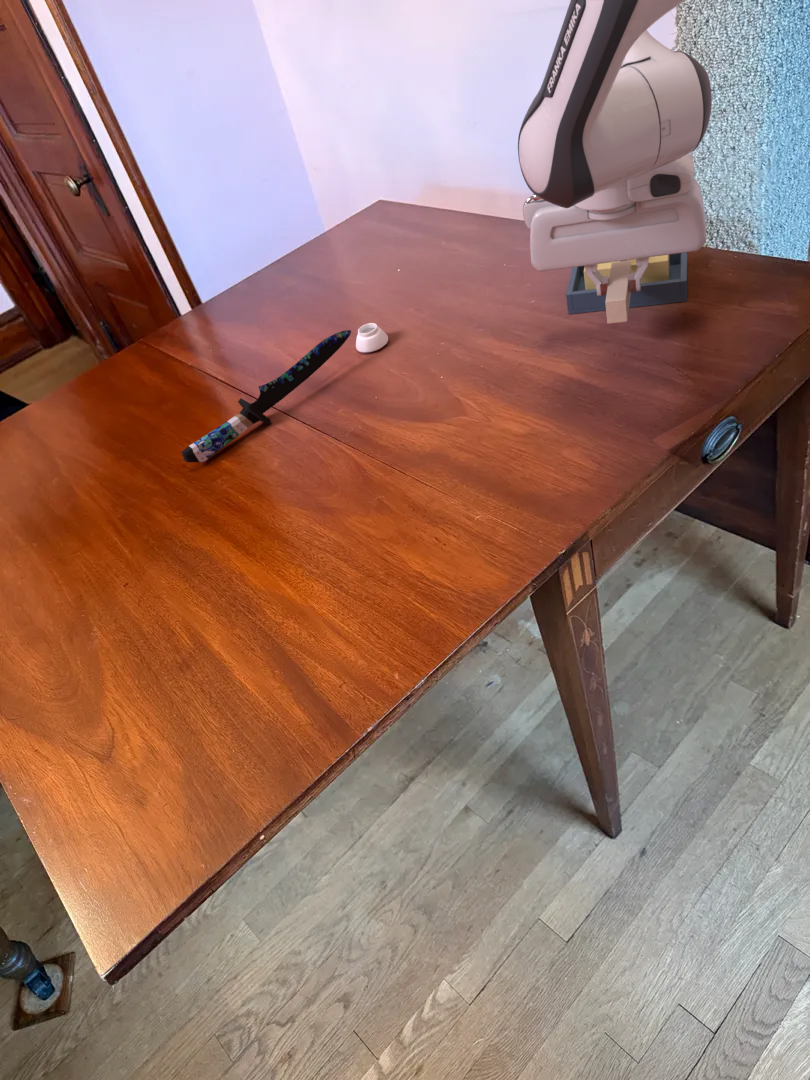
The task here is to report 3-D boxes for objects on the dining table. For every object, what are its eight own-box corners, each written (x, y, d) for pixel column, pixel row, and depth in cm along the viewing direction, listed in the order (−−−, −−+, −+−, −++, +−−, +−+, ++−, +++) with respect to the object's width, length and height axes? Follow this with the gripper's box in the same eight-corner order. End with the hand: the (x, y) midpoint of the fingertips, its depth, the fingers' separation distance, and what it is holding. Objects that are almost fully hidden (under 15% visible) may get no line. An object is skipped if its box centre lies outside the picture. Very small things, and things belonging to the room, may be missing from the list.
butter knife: (627, 321, 91) (625, 299, 89) (607, 323, 92) (605, 301, 90) (637, 237, 106) (636, 216, 104) (619, 239, 107) (618, 219, 105)
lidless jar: (365, 358, 111) (394, 343, 112) (359, 341, 109) (389, 326, 110) (352, 347, 115) (380, 333, 116) (346, 330, 113) (374, 316, 114)
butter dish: (687, 263, 106) (687, 243, 104) (686, 301, 99) (686, 280, 97) (576, 277, 112) (574, 258, 110) (568, 314, 105) (565, 294, 103)
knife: (199, 478, 102) (181, 455, 99) (190, 470, 104) (173, 446, 101) (367, 351, 109) (356, 325, 106) (356, 345, 111) (344, 320, 108)
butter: (669, 270, 105) (669, 243, 102) (668, 288, 101) (668, 260, 99) (589, 280, 109) (586, 254, 106) (586, 297, 106) (583, 271, 103)
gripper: (516, 205, 86) (533, 313, 95) (707, 173, 79) (706, 294, 88) (524, 183, 90) (540, 289, 100) (706, 151, 83) (705, 268, 92)
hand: (619, 291), depth 94 cm, fingers closed on butter knife, 2 cm apart
